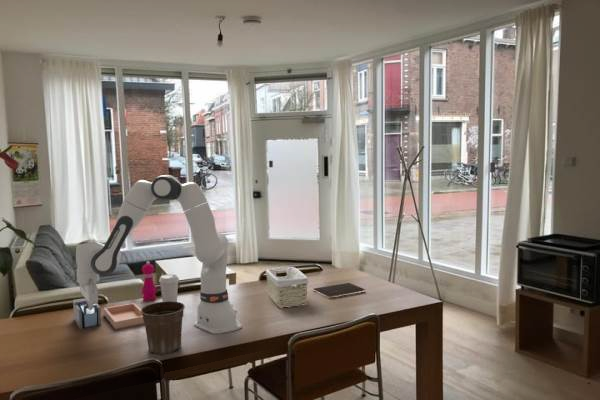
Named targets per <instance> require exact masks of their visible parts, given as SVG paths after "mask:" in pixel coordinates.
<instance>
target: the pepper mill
mask: <svg viewBox="0 0 600 400" xmlns="http://www.w3.org/2000/svg"><path fill="white" fill-rule="evenodd" d="M150 262H151V261H149V260H147V261H146V262H145V263H146V264H144V265H142V268H141V271H142V273H143V278H144V280H143V282H144V283H143V285H142V287H141V294H142V295H143V297H142V300H143V301H145V302H150V301H155V300H156V299H157V298H156V297H157V296H156V294H157V287H156V285H155V282H154V275H155V274H154V272H155V267H154V265H153V264H151V263H150Z"/></svg>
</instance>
